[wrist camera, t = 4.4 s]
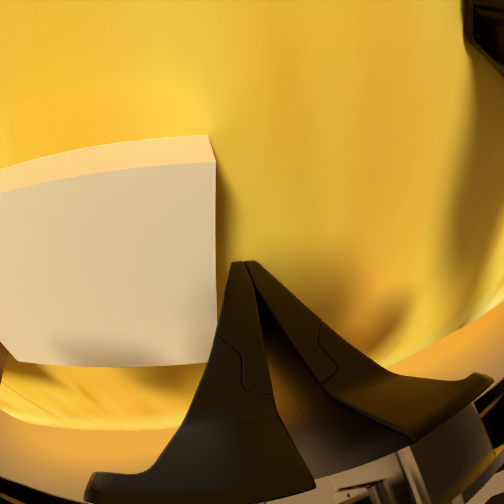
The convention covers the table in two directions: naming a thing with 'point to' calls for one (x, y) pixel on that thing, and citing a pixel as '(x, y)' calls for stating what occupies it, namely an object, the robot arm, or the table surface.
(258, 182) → the table surface
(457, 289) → the table surface
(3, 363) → the wood grain block
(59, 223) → the beige block
